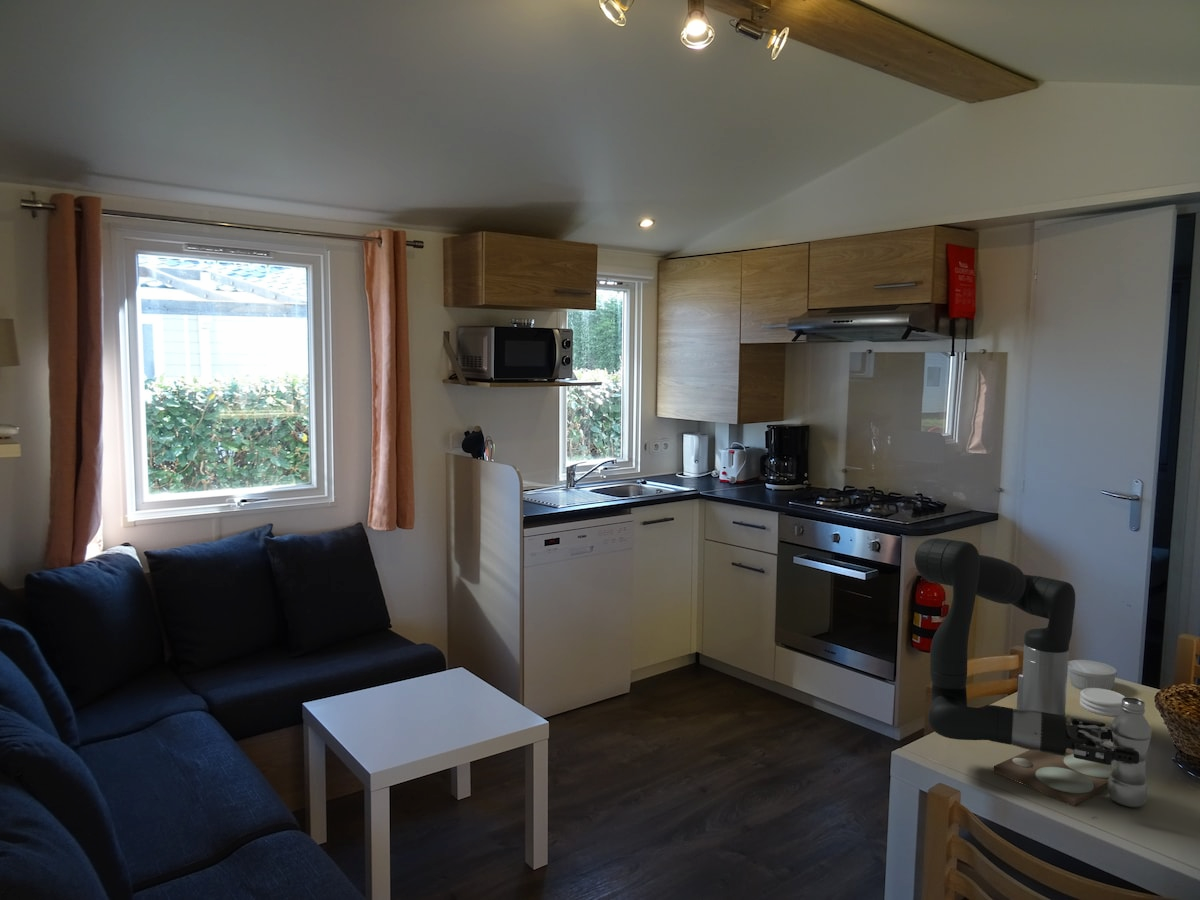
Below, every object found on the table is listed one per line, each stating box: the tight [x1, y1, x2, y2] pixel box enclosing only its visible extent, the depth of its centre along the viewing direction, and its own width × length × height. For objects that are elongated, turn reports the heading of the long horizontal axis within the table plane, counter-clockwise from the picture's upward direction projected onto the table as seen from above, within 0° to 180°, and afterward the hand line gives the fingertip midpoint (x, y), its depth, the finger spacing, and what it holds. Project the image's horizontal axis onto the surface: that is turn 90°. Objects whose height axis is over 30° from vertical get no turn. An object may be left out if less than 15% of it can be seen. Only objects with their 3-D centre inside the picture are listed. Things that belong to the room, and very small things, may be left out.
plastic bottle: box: [1106, 696, 1152, 808], centre depth 156 cm, size 6×7×20 cm
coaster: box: [1079, 688, 1126, 717], centre depth 201 cm, size 10×10×4 cm
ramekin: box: [1067, 659, 1118, 691], centre depth 215 cm, size 11×11×5 cm
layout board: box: [993, 748, 1112, 807], centre depth 169 cm, size 16×23×4 cm
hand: (1136, 748), depth 156 cm, fingers open, 8 cm apart
